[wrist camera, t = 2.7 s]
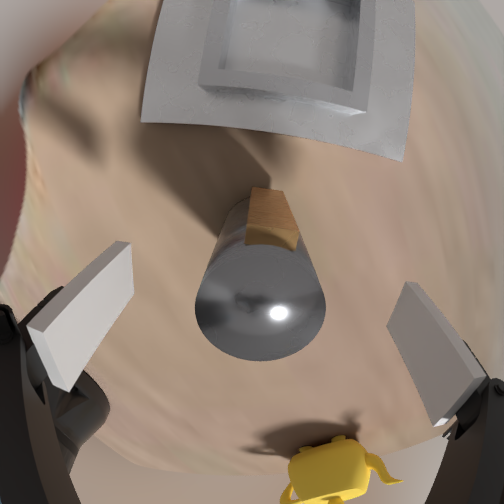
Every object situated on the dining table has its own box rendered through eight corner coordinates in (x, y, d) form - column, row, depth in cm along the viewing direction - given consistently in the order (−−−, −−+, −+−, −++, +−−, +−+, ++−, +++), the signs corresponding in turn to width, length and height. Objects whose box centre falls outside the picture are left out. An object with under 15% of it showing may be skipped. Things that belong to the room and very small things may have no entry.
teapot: (380, 412, 29) (400, 477, 20) (392, 437, 33) (407, 489, 23) (262, 451, 33) (262, 512, 24) (293, 470, 37) (296, 520, 27)
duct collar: (146, 122, 17) (124, 121, 14) (179, -34, 11) (167, -55, 8) (396, 160, 18) (420, 167, 14) (408, 5, 12) (429, -9, 9)
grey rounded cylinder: (220, 259, 21) (194, 352, 12) (229, 181, 19) (199, 226, 9) (289, 268, 21) (307, 365, 12) (304, 192, 19) (346, 247, 10)
